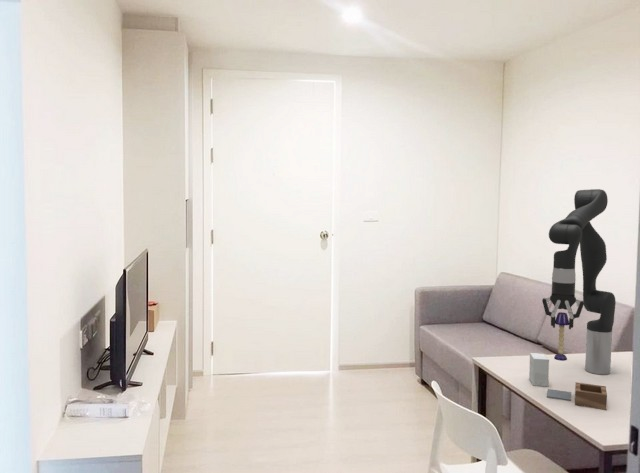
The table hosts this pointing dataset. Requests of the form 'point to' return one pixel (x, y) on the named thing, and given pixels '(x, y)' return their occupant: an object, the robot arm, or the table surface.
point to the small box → (539, 369)
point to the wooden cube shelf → (591, 396)
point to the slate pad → (559, 394)
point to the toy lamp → (561, 334)
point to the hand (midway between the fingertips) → (561, 327)
